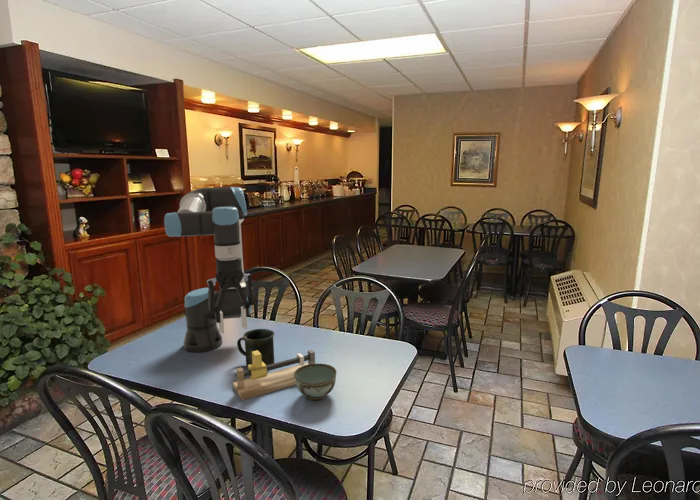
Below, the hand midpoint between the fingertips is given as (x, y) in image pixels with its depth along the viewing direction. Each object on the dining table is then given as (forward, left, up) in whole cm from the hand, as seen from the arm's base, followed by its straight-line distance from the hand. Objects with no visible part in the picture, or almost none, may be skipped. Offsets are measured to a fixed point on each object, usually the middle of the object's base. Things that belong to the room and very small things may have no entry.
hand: (233, 329), depth 132 cm
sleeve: (0, +7, -18) cm, 19 cm away
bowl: (+15, +21, -22) cm, 34 cm away
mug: (-17, +12, -22) cm, 30 cm away
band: (0, +23, -18) cm, 29 cm away
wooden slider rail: (0, +14, -22) cm, 26 cm away
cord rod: (0, +14, -17) cm, 22 cm away
